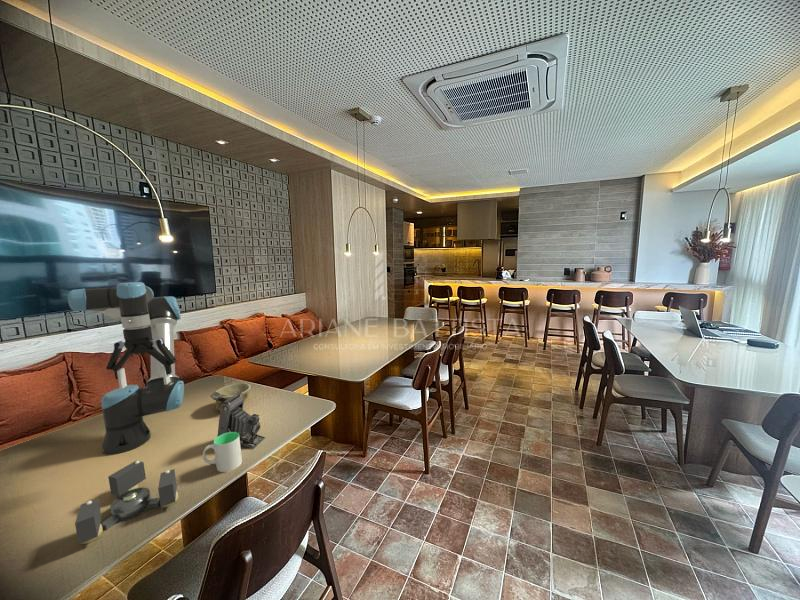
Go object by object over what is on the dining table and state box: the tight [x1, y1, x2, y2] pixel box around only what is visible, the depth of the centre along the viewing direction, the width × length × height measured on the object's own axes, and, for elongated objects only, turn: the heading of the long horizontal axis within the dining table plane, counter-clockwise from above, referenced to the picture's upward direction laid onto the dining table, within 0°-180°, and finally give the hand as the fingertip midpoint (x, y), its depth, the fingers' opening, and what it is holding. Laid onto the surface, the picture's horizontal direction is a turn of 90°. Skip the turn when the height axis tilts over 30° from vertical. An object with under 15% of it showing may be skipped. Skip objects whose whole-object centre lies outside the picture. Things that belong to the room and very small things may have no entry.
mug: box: [202, 432, 243, 473], centre depth 113 cm, size 12×8×10 cm, turn 113°
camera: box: [216, 392, 266, 449], centre depth 128 cm, size 11×17×20 cm, turn 79°
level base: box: [100, 487, 160, 531], centre depth 93 cm, size 14×12×5 cm
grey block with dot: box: [107, 460, 147, 497], centre depth 101 cm, size 4×8×9 cm, turn 164°
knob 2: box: [157, 468, 179, 508], centre depth 96 cm, size 4×8×9 cm, turn 33°
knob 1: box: [74, 498, 104, 545], centre depth 85 cm, size 4×8×9 cm, turn 38°
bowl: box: [210, 382, 252, 412], centre depth 160 cm, size 18×18×10 cm
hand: (145, 385), depth 112 cm, fingers open, 13 cm apart
